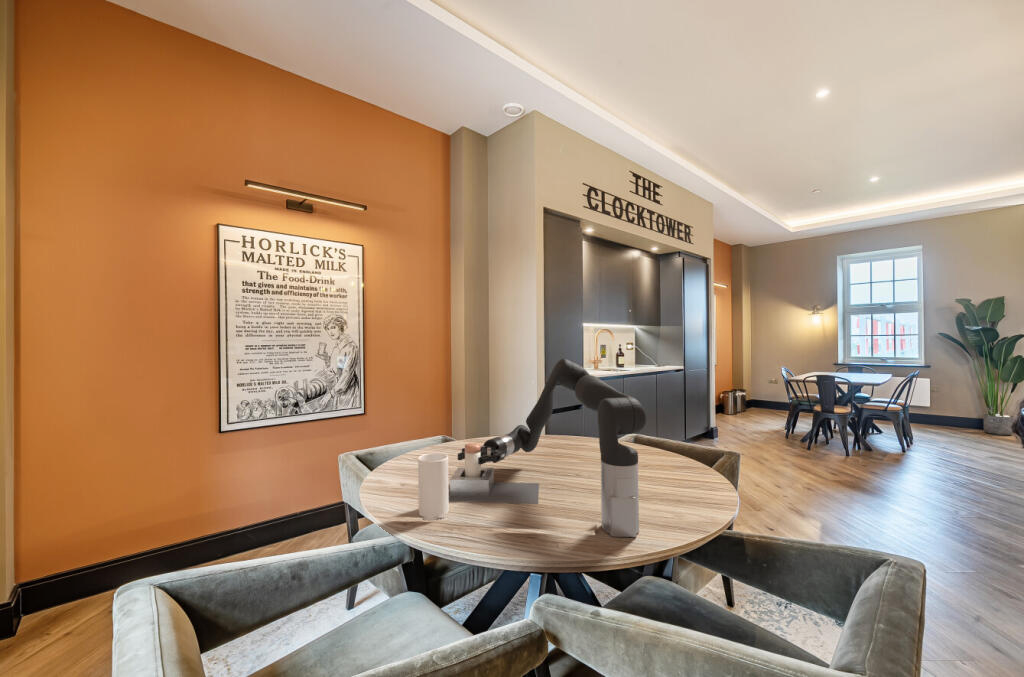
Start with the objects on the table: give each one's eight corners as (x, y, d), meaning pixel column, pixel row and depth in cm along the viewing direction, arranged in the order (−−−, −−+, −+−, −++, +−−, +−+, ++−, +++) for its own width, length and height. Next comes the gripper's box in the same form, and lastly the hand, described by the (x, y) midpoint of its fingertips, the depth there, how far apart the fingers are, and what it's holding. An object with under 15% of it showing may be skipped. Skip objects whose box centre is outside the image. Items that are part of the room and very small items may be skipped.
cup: (445, 506, 118) (444, 451, 118) (451, 517, 111) (451, 459, 111) (416, 511, 115) (416, 454, 115) (421, 523, 108) (420, 462, 108)
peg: (479, 492, 127) (479, 447, 127) (463, 491, 127) (463, 447, 127) (481, 486, 132) (481, 443, 132) (466, 486, 132) (466, 443, 132)
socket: (488, 496, 123) (488, 480, 123) (449, 495, 124) (449, 479, 124) (493, 482, 135) (493, 467, 135) (458, 482, 136) (458, 467, 136)
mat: (538, 507, 117) (538, 503, 117) (443, 505, 119) (443, 501, 119) (538, 486, 134) (538, 483, 134) (455, 484, 136) (455, 481, 136)
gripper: (482, 434, 145) (451, 444, 132) (515, 439, 137) (486, 450, 124) (483, 455, 145) (451, 467, 132) (516, 461, 137) (486, 475, 124)
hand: (468, 459), depth 128 cm, fingers open, 8 cm apart
